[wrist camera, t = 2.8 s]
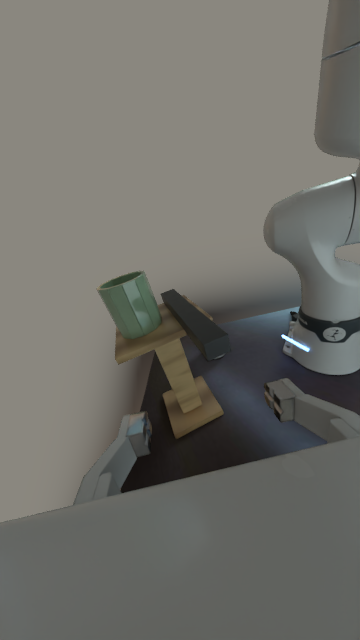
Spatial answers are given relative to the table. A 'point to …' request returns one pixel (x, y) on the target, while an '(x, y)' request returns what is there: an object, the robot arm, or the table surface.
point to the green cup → (131, 304)
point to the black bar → (197, 326)
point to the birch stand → (174, 373)
